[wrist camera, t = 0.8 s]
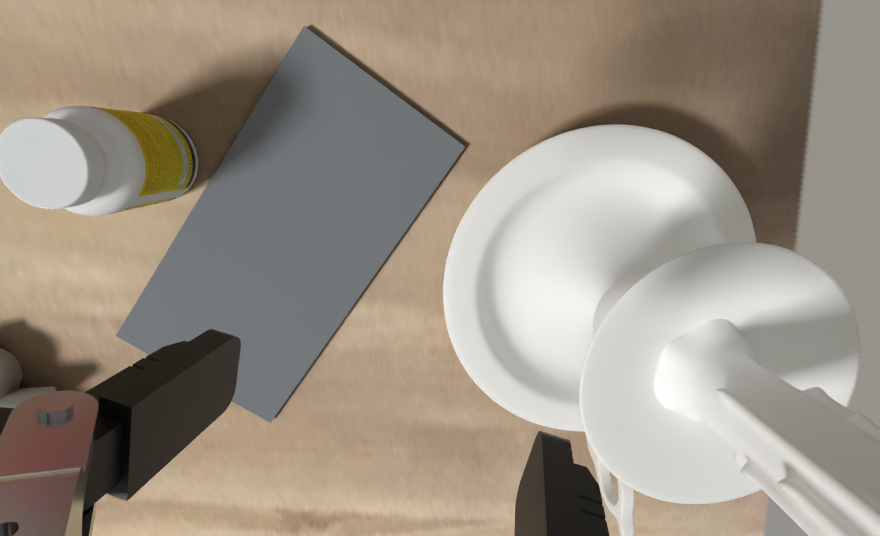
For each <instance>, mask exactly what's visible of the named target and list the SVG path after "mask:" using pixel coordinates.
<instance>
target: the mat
mask: <svg viewBox="0 0 880 536" xmlns="http://www.w3.org/2000/svg"><path fill="white" fill-rule="evenodd" d="M464 148H465V146H464V145H462V144H461V143H460V142H458V141H457V140H456V139H454V138H453V137H452V136H450V135H449V134H448V133H446V132H445V131H444V130H442V129H441V128H440V127H438V126H437V125H436V124H434V123H433V122H432V121H430V120H429V119H427V118H426V117H425V116H423V115H422V114H421V113H419V112H418V111H417V110H415V109H414V108H413V107H411V106H410V105H409V104H407V103H406V102H405V101H403V100H402V99H401V98H399V97H398V96H397V95H395V94H394V93H393V92H391V91H390V90H389V89H387V88H386V87H385V86H383V85H382V84H381V83H379V82H378V81H377V80H375V79H374V78H373V77H371V76H370V75H369V74H367V73H366V72H365V71H363V70H362V69H361V68H359V67H358V66H357V65H355V64H354V63H353V62H351V61H350V60H349V59H347V58H346V57H345V56H343V55H342V54H341V53H339V52H338V51H337V50H335V49H334V48H333V47H331V46H330V45H329V44H327V43H326V42H325V41H323V40H322V39H321V38H319V37H318V36H317V35H315V34H314V33H313V32H311V31H310V30H309V29H307V28H306V27H305V26H304V27H303V28H302V30H301V32H300V33H299V35H298V37H297V38H296V40H295V42H294V43H293V45H292V47H291V48H290V50H289V52H288V53H287V55H286V57H285V58H284V60H283V61H282V63H281V65H280V66H279V68H278V70H277V71H276V73H275V75H274V76H273V78H272V80H271V81H270V83H269V85H268V86H267V88H266V89H265V91H264V93H263V94H262V96H261V98H260V99H259V101H258V103H257V104H256V106H255V108H254V109H253V111H252V113H251V114H250V116H249V118H248V119H247V121H246V122H245V124H244V126H243V127H242V129H241V131H240V132H239V134H238V136H237V137H236V139H235V141H234V142H233V144H232V146H231V147H230V149H229V151H228V152H227V154H226V155H225V157H224V159H223V160H222V162H221V164H220V165H219V167H218V169H217V170H216V172H215V174H214V175H213V177H212V179H211V180H210V182H209V183H208V185H207V187H206V188H205V190H204V192H203V193H202V195H201V197H200V198H199V200H198V202H197V203H196V205H195V207H194V208H193V210H192V212H191V213H190V215H189V216H188V218H187V220H186V221H185V223H184V225H183V226H182V228H181V230H180V231H179V233H178V235H177V236H176V238H175V240H174V241H173V243H172V245H171V246H170V248H169V249H168V251H167V253H166V254H165V256H164V258H163V259H162V261H161V263H160V264H159V266H158V268H157V269H156V271H155V273H154V274H153V276H152V278H151V279H150V281H149V282H148V284H147V286H146V287H145V289H144V291H143V292H142V294H141V296H140V297H139V299H138V301H137V302H136V304H135V306H134V307H133V309H132V310H131V312H130V314H129V315H128V317H127V319H126V320H125V322H124V324H123V325H122V327H121V329H120V330H119V332H118V334H117V335H116V336H117V337H119V338H121V339H123V340H124V341H126V342H128V343H130V344H131V345H133V346H135V347H137V348H139V349H140V350H142V351H144V352H146V353H147V354H149V355H150V354H152V353H153V352H155V351H157V350H158V349H160V348H162V347H164V346H167V345H171V344H175V343H178V342H182V341H187V342H189V341H191V340H192V339H194V338H195V337H197V336H199V335H200V334H202V333H204V332H205V331H207V330H209V329H214V330H217V331H220V332H223V333H227V334H230V335H233V336H236V337H239V338H240V341H241V350H240V358H239V366H238V374H237V382H236V389H235V393H234V396H233V398H232V401H233V402H235V403H236V404H238V405H240V406H242V407H243V408H245V409H247V410H249V411H251V412H252V413H254V414H256V415H258V416H259V417H261V418H263V419H265V420H267V421H268V422H270V423H271V421H272V420H273V418H274V417H275V416H276V414H277V413H278V411H279V410H280V408H281V407H282V406H283V404H284V403H285V401H286V400H287V399H288V397H289V396H290V394H291V393H292V391H293V390H294V389H295V387H296V386H297V384H298V383H299V382H300V380H301V379H302V377H303V376H304V374H305V373H306V372H307V370H308V369H309V367H310V366H311V365H312V363H313V362H314V360H315V359H316V357H317V356H318V355H319V353H320V352H321V350H322V349H323V348H324V346H325V345H326V343H327V342H328V340H329V339H330V338H331V336H332V335H333V333H334V332H335V331H336V329H337V328H338V326H339V325H340V323H341V322H342V321H343V319H344V318H345V316H346V315H347V314H348V312H349V311H350V309H351V308H352V306H353V305H354V304H355V302H356V301H357V299H358V298H359V297H360V295H361V294H362V292H363V291H364V289H365V288H366V287H367V285H368V284H369V282H370V281H371V280H372V278H373V277H374V275H375V274H376V272H377V271H378V270H379V268H380V267H381V265H382V264H383V263H384V261H385V260H386V258H387V257H388V255H389V254H390V253H391V251H392V250H393V248H394V247H395V246H396V244H397V243H398V241H399V240H400V238H401V237H402V236H403V234H404V233H405V231H406V230H407V229H408V227H409V226H410V224H411V223H412V221H413V220H414V219H415V217H416V216H417V214H418V213H419V212H420V210H421V209H422V207H423V206H424V204H425V203H426V202H427V200H428V199H429V197H430V196H431V195H432V193H433V192H434V190H435V189H436V187H437V186H438V185H439V183H440V182H441V180H442V179H443V178H444V176H445V175H446V173H447V172H448V170H449V169H450V168H451V166H452V165H453V163H454V162H455V161H456V159H457V158H458V156H459V155H460V153H461V152H462V151H463V149H464Z"/></svg>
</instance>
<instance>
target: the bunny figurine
mask: <svg viewBox="0 0 880 536" xmlns="http://www.w3.org/2000/svg"><path fill="white" fill-rule="evenodd" d="M22 377H23V375H22V371H21V367H20V363H19V362H18V360H17V358H16V357H15V356H14V355H13V354H12V353H10V352H8V351H5V350H3V349H1V348H0V407H5V408H15V407H16V406H18V405H19V404H20V403H22V402H24V401H25V400H27V399H30V398H32V397H35V396H38V395H41V394H45V393H49V392H55V391H56V389H55V387H54V386H49V387H32V388H19V387H20V384H21V380H22Z"/></svg>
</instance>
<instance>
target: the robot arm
mask: <svg viewBox="0 0 880 536" xmlns="http://www.w3.org/2000/svg"><path fill="white" fill-rule="evenodd" d="M240 350H241V341H240V338H239V337H236V336H233V335H230V334H227V333H223V332H220V331H217V330H214V329H209V330H207V331H205V332H204V333H202V334H200V335H199V336H197V337H195V338H194V339H192V340H191V341H189V342H187V341H182V342H178V343H175V344H171V345H167V346H164V347H162V348H160V349H158V350H157V351H155V352H153V353H152V354H150V355H148V356H147V357H146V359H145V358H143V359H141V360H140V361H138V362H136V363H134V364H133V366H132V367H131V366H129V367H128V368H126V369H124V370H122V371H121V372H119V373H117V374H116V375H114V376H112V377H110V378H109V379H107V380H105V381H104V382H102V383H100V384H98V385H97V386H95V387H93V388H92V389H90V390H88V391H86V392H85V393H83V392H78V391H55V392H49V393H45V394H41V395H38V396H35V397H32V398H30V399H27V400H25V401H24V402H22V403H20V404H19V405H18V406H16V407H15V408H5V407H0V536H92V530H93V524H94V519H95V512H96V502H97V501H98V500H99V499H100V498H101V497H103V496H104V495H105V494H106V493H107V494H110V495H112V496H115V497H118V498H121V499H124V500H128V499H130V498H131V497H132V496H133V495H134V494H135V493H136V492H137V491H138V490H139V489H140V488H142V487H143V486H144V485H145V484H146V483H147V482H148V481H149V480H150V479H151V478H152V477H154V476H155V475H156V474H157V473H158V472H159V471H160V470H161V469H162V468H163V467H164V466H166V465H167V464H168V463H169V462H170V461H171V460H172V459H173V458H174V457H175V456H176V455H177V454H179V453H180V452H181V451H182V450H183V449H184V448H185V447H186V446H187V445H188V444H189V443H191V442H192V441H193V440H194V439H195V438H196V437H197V436H198V435H199V434H200V433H201V432H203V431H204V430H205V429H206V428H207V427H208V426H209V425H210V424H211V423H212V422H213V421H215V420H216V419H217V418H218V417H219V416H220V415H221V414H222V413H223V412H224V411H225V410H226V409H227V407H228V406H229V404H230V403H231V401H232V398H233V396H234V393H235V389H236V382H237V374H238V366H239V358H240ZM515 536H609V532H608V527H607V522H606V521H605V513H604V508H603V506H602V498H601V494H600V489H599V485H598V483H597V482H596V480H595V479H594V477H593V476H592V474H591V473H590V471H589V470H588V468H587V467H584V466H581V465H578V464H574V463H573V457H572V450H571V443H570V440H568V439H565V438H561V437H558V436H555V435H552V434H548V433H545V432H542V431H539V432H538V434H537V436H536V439H535V441H534V444H533V447H532V450H531V453H530V456H529V458H528V461H527V464H526V467H525V470H524V473H523V476H522V478H521V481H520V485H519V489H518V493H517V499H516V507H515Z"/></svg>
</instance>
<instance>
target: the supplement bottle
mask: <svg viewBox="0 0 880 536" xmlns="http://www.w3.org/2000/svg"><path fill="white" fill-rule="evenodd" d="M197 172H198V155H197V151H196V148H195V146H194V144H193V142H192V140H191V138H190V137H189V136H188V134H187V133H186V132H185V131H184V130H183V129H182V128H181V127H180V126H178V125H177V124H176V123H174V122H173V121H171V120H169V119H167V118H165V117H162V116H158V115H154V114H149V113H140V112H131V111H121V110H113V109H104V108H96V107H85V106H70V107H64V108H60V109H57V110H54V111H52V112H50V113H48V114H46V115H45V116H43V117H42V118H25V119H21V120H19V121H16V122H14V123H12V124H11V125H9V126H8V127H7V128H6V129H5V130H4V131H3V132H2V133H1V135H0V177H1V179H2V180H3V182H4V183H5V185H6V186H7V187H8V188H9V190H10V191H11V192H12V193H13V194H14V195H16V196H17V197H18V198H19V199H21V200H22V201H24V202H26V203H28V204H30V205H33V206H36V207H39V208H44V209H62V208H64V209H66V210H68V211H71V212H74V213H77V214H81V215H87V216H101V215H108V214H113V213H117V212H121V211H125V210H130V209H135V208H139V207H144V206H149V205H153V204H158V203H162V202H166V201H170V200H173V199H175V198H178V197H180V196H181V195H183V194H184V193H185V192H187V191H188V190H189V188H190V187H191V186H192V184H193V183H194V181H195V179H196V176H197Z"/></svg>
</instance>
